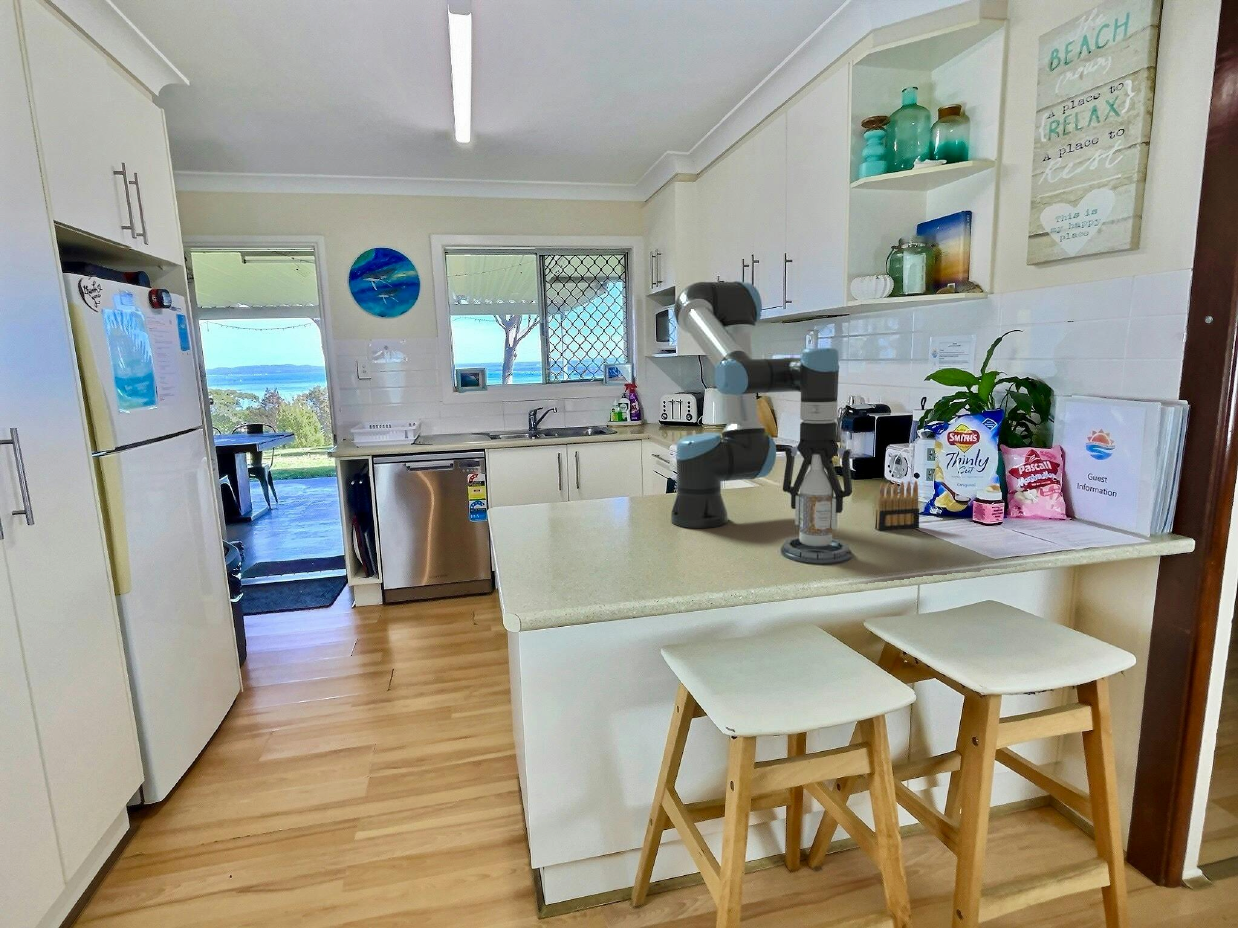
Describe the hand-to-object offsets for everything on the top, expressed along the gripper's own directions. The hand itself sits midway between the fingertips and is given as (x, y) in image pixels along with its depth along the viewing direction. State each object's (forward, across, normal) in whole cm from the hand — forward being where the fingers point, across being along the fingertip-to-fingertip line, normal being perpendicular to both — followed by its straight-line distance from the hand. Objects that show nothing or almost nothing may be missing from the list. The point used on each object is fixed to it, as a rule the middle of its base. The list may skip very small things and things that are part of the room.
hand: (816, 524), depth 137 cm
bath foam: (+4, 0, 0) cm, 4 cm away
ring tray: (+7, 0, 0) cm, 7 cm away
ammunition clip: (+7, +14, +28) cm, 32 cm away
